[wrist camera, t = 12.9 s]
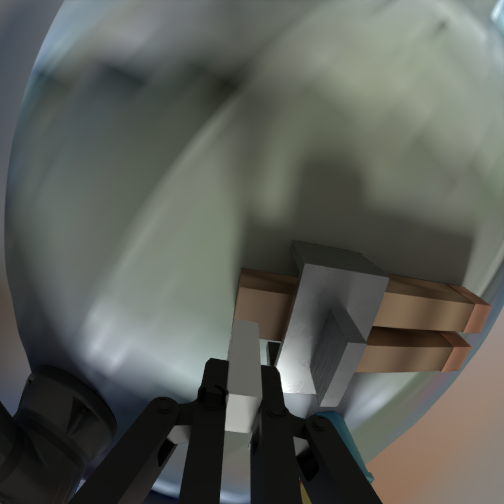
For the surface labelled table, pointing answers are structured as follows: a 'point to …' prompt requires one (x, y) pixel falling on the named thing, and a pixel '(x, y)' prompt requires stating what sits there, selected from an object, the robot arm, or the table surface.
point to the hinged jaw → (430, 306)
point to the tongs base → (378, 342)
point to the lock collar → (327, 321)
